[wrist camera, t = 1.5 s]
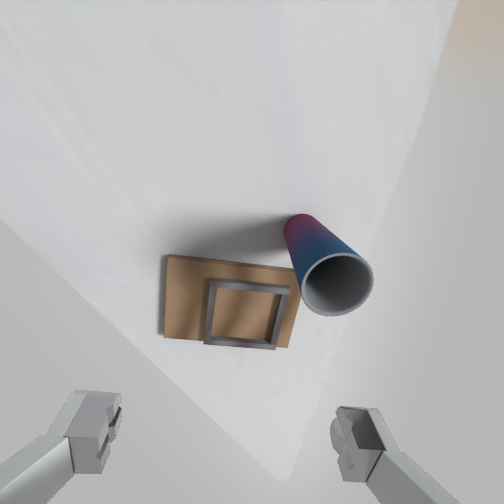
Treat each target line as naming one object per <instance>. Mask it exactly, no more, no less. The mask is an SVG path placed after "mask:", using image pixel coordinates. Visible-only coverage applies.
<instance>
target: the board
mask: <svg viewBox="0 0 504 504" xmlns="http://www.w3.org/2000/svg"><path fill="white" fill-rule="evenodd" d="M300 299H301V292H300V288H299V285H298V281H297V278H296V274H295V271H294V269H291V268H282V267H274V266H265V265H257V264H248V263H240V262H231V261H222V260H214V259H205V258H197V257H188V256H180V255H171V254H169V256H168V258H167V278H166V301H165V324H164V338H173V339H186V340H198V341H204V343H203V344H207V345H219V346H232V347H244V348H257V349H269V350H275V349H276V347H283V348H287V347H288V344H289V340H290V336H291V332H292V329H293V325H294V321H295V318H296V314H297V310H298V307H299V303H300Z"/></svg>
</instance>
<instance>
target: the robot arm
mask: <svg viewBox="0 0 504 504" xmlns="http://www.w3.org/2000/svg"><path fill="white" fill-rule="evenodd" d="M120 402H121V394H120V393H109V392H98V391H86V390H75V391H74V392H73V393H72V394H71V395H70V396H69V398H68V400H67V401H66V403H65V404H64V406H63V407H62V409H61V411H60V412H59V414H58V416H57V417H56V419H55V420H54V422H53V424H52V425H51V427H50V428H49V430H48V432H47V433H46V435H45V436H39V437H38V438H36V439H35V440H34V441H32V442H31V443H29V444H28V445H27V446H25V447H24V448H23V449H21V450H20V451H18V452H17V453H16V454H14V455H13V456H11V457H10V458H9V459H7V460H6V461H5V462H3V463H2V464H1V465H0V504H46V503H47V502H48V501H49V500H50V499H51V498H52V497H53V496H54V495H55V494H56V493H57V492H58V491H59V490H60V489H61V488H62V487H63V486H64V485H65V484H66V483H67V482H68V481H69V480H70V479H71V478H72V477H73V476H74V474H75V473H76V474H79V473H80V474H86V473H87V474H88V473H90V474H91V473H92V474H96V473H97V474H101V473H102V471H103V469H104V466H105V464H106V461H107V459H108V456H109V454H110V443H111V442H112V441H113V440H114V439H115V438H116V436H117V433H118V430H119V427H120V422H121V417H122V409H121V407H119V404H120ZM336 415H337V418H335V419H334V420H333V421H332V424H331V427H330V436H331V441H332V445H333V448H334V449H335V450H336V451H337V453H338V454H339V457H338V460H337V462H338V465H339V468H340V471H341V474H342V478H343V481H348V482H349V481H350V482H364V483H366V485H367V486H368V487H369V489H370V490H371V491H372V493H373V494H374V495H375V496H376V498H377V499H378V500H379V502H380V503H381V504H460V502H458V501H457V500H456V499H455V498H454V497H453V496H452V495H451V494H450V493H449V492H448V491H446V490H445V489H444V488H443V487H442V486H441V485H440V484H439V483H437V481H436V480H434V479H433V478H432V477H431V476H430V475H429V474H428V473H427V472H426V471H425V470H423V469H422V468H421V467H420V466H419V465H418V464H417V463H416V462H415V461H414V460H413V459H412V458H410V457H409V456H408V455H407V454H406V453H405V452H401V451H400V449H399V447H398V445H397V443H396V441H395V439H394V438H393V436H392V434H391V432H390V430H389V428H388V426H387V424H386V422H385V420H384V418H383V416H382V414H381V412H380V411H379V410H378V409H376V408H363V407H345V406H340V407H338V408H337V410H336Z"/></svg>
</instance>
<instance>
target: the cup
mask: <svg viewBox="0 0 504 504" xmlns="http://www.w3.org/2000/svg"><path fill="white" fill-rule="evenodd" d="M284 236H285V240H286V243H287V247H288V250H289V254H290V257H291V261H292V264H293V267H294V271H295V274H296V278H297V281H298V285H299V288H300V292H301V295H302V299H303V301H304V303H305V304H306V305H307V307H308V308H309V309H311V310H312V311H313V312H315V313H317V314H320V315H324V316H340V315H344V314H347V313H349V312H351V311H353V310H355V309H357V308H358V307H359V306H360V305H362V304H363V303H364V302H365V300H366V299H367V298H368V296H369V294H370V293H371V291H372V287H373V282H374V277H373V272H372V269H371V267H370V265H369V264H368V263H367V262H366V261H365V260H364V259H363V258H362V257H361V256H359V255H358V254H357V253H356V252H355V251H353V250H352V249H351V248H350V247H349V246H347V245H346V244H345V243H344V242H343V241H341V240H340V239H339V238H338V237H337V236H335V235H334V234H333V233H332V232H331V231H329V230H328V229H327V228H326V227H325V226H323V225H322V224H321V223H320V222H319V221H317V220H316V219H315V218H314V217H312V216H310V215H308V214H299V215H296V216H294V217H292V218H291V219H290V220H289V221H288V222H287V224H286V225H285V228H284Z"/></svg>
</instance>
